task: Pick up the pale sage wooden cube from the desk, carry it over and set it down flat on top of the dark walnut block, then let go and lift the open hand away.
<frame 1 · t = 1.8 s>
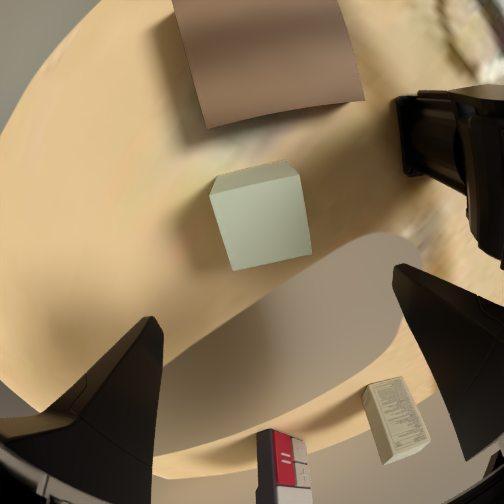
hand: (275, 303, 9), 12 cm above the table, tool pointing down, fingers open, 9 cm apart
sage cube: (259, 199, 20), on the table
skincare box: (382, 386, 34), on the table
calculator: (281, 436, 40), on the table
walnut block: (265, 47, 15), on the table
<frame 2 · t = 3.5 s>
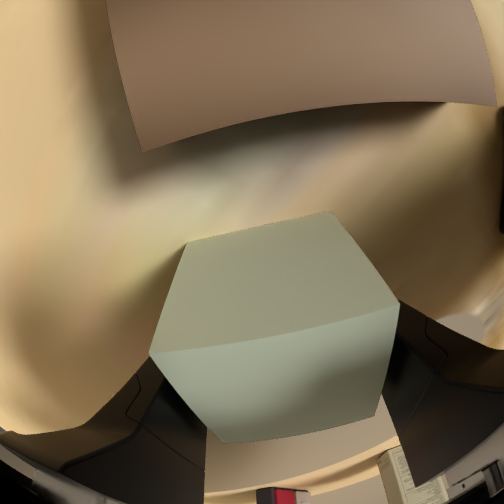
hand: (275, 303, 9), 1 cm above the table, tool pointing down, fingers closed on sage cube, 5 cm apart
sage cube: (272, 285, 10), on the table, touching gripper
skincare box: (401, 446, 24), on the table
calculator: (284, 489, 31), on the table
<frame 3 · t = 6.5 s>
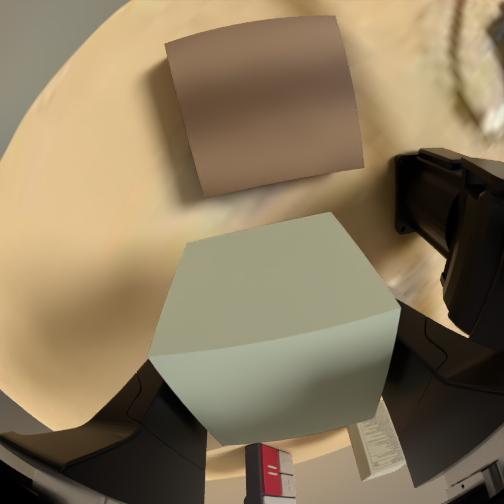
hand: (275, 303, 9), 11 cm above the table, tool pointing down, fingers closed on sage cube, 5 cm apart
sage cube: (272, 286, 10), point 10 cm above the table, touching gripper
skincare box: (365, 408, 35), on the table
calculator: (269, 449, 41), on the table
walnut block: (265, 100, 16), on the table
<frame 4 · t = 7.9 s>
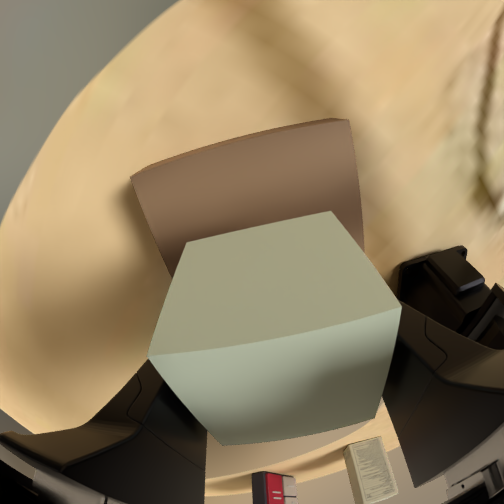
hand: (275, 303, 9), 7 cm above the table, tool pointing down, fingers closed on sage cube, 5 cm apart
sage cube: (272, 286, 10), point 6 cm above the table, touching gripper
skincare box: (362, 442, 35), on the table
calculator: (274, 474, 41), on the table
walnut block: (260, 221, 16), on the table
when the fingers open (5 cm above the table, at t = 9.0 s): sage cube drops 1 cm, resting on walnut block.
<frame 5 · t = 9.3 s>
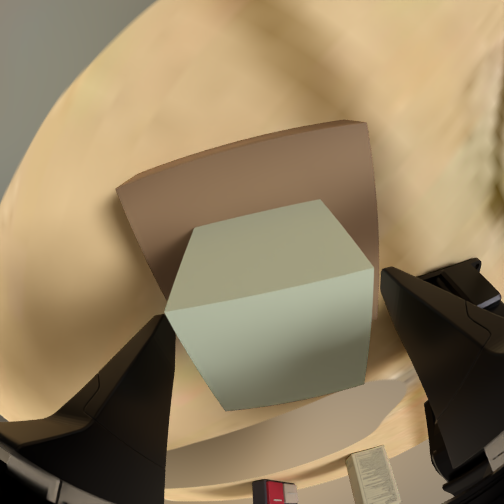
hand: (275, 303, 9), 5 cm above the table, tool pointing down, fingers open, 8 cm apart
sage cube: (269, 267, 12), point 2 cm above the table, touching walnut block
skincare box: (364, 451, 33), on the table
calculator: (275, 482, 40), on the table
walnut block: (263, 235, 14), on the table, touching sage cube
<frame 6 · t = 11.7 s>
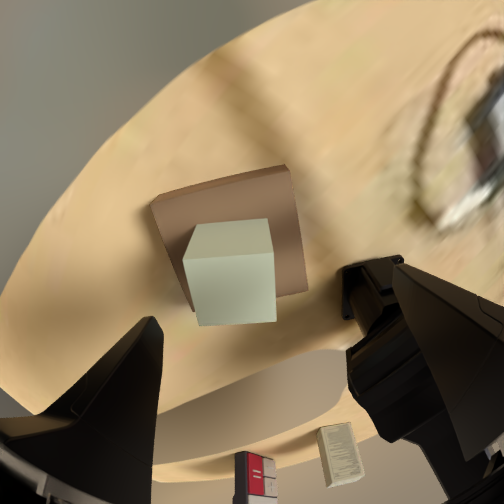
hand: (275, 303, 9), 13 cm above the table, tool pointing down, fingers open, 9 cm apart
sage cube: (235, 252, 20), point 2 cm above the table, touching walnut block
skincare box: (333, 427, 42), on the table
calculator: (255, 456, 48), on the table
walnut block: (235, 233, 23), on the table, touching sage cube
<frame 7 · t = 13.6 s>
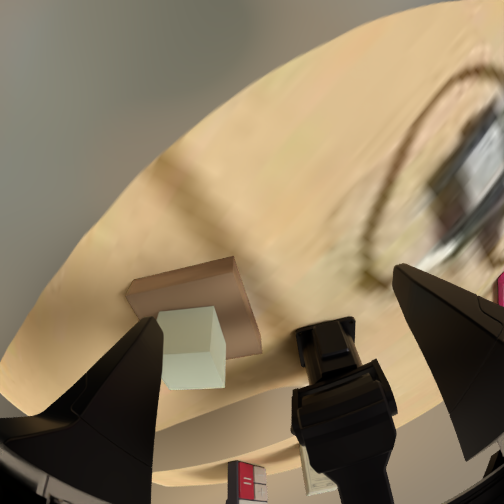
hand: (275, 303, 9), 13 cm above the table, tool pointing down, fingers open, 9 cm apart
sage cube: (193, 329, 24), point 3 cm above the table
skincare box: (314, 442, 45), on the table
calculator: (247, 464, 52), on the table
walnut block: (199, 307, 27), on the table
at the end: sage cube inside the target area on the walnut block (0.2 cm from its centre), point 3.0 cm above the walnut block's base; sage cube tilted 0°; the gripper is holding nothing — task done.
